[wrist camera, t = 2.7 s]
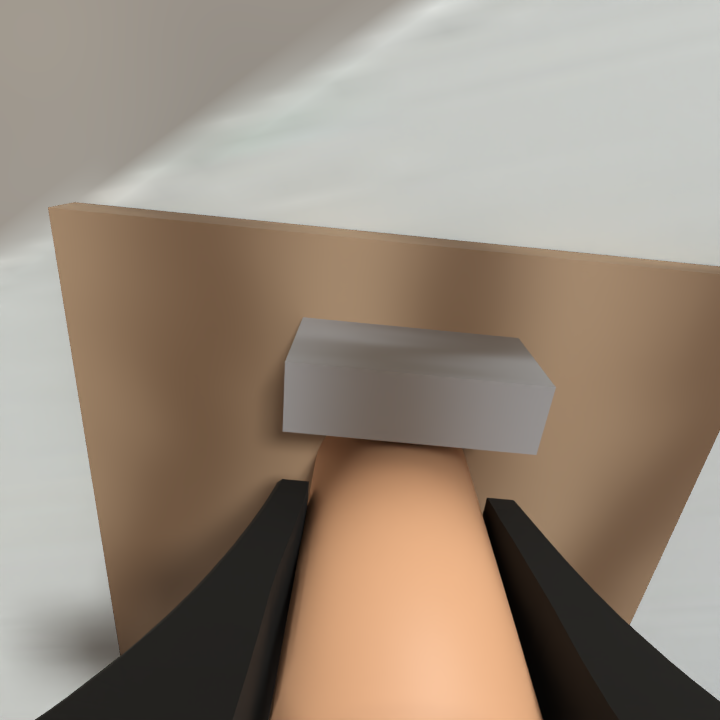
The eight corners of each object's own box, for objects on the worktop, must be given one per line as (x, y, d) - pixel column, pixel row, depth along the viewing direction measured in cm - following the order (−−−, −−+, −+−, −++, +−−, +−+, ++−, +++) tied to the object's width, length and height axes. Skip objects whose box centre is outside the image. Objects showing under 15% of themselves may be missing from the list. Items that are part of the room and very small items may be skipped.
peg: (479, 414, 12) (600, 718, 6) (452, 537, 14) (522, 880, 7) (319, 399, 12) (258, 689, 6) (310, 524, 14) (255, 860, 7)
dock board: (755, 270, 11) (904, 318, 8) (512, 834, 22) (536, 952, 19) (74, 202, 11) (-46, 225, 8) (158, 806, 22) (121, 920, 19)
